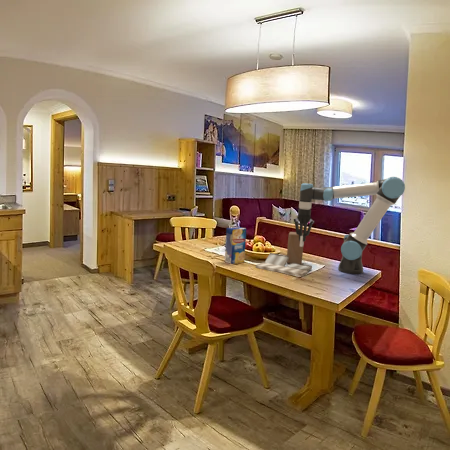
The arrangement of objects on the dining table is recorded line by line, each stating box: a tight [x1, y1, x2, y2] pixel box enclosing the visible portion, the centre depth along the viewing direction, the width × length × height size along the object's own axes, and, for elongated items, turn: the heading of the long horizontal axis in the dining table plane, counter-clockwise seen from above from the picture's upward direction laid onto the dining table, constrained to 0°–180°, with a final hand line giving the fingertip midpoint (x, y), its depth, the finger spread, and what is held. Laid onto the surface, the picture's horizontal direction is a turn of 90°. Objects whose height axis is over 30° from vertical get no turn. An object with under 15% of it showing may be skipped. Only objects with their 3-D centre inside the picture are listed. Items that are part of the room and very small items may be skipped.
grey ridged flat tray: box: [255, 262, 309, 277], centre depth 245 cm, size 30×10×2 cm, turn 59°
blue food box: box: [224, 226, 247, 265], centre depth 259 cm, size 7×11×22 cm, turn 128°
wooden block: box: [286, 231, 304, 265], centre depth 266 cm, size 10×10×20 cm
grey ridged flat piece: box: [264, 252, 289, 267], centre depth 256 cm, size 13×9×2 cm
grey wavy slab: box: [286, 263, 313, 272], centre depth 250 cm, size 13×9×2 cm
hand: (301, 246), depth 250 cm, fingers closed
